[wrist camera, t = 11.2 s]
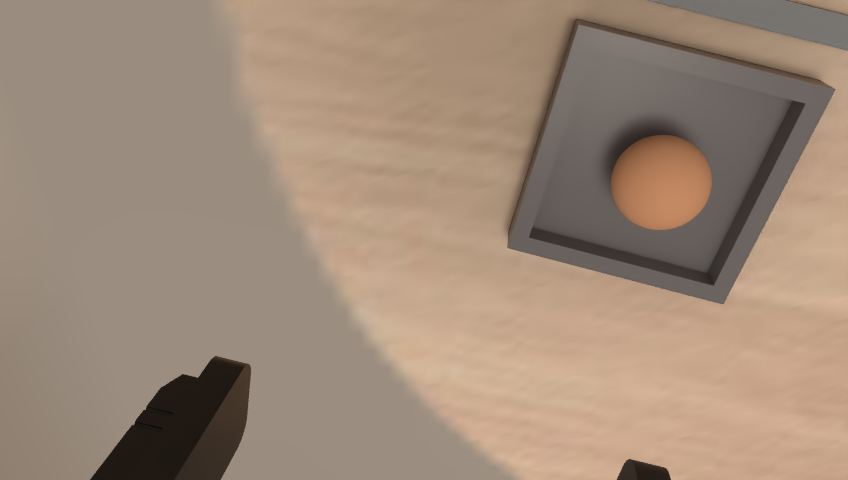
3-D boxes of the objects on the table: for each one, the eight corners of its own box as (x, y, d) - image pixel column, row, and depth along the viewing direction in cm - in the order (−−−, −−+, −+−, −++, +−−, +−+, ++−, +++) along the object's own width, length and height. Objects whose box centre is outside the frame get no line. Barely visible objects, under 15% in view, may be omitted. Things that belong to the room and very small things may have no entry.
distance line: (567, -55, 33) (568, -54, 32) (881, 23, 32) (887, 25, 32) (558, -24, 34) (559, -23, 33) (865, 53, 33) (871, 56, 33)
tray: (576, 18, 34) (578, 24, 33) (819, 80, 34) (835, 89, 32) (508, 233, 40) (507, 247, 39) (714, 287, 40) (723, 304, 38)
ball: (624, 113, 36) (637, 141, 31) (714, 135, 36) (740, 167, 31) (594, 194, 38) (602, 232, 34) (678, 216, 38) (697, 257, 33)
